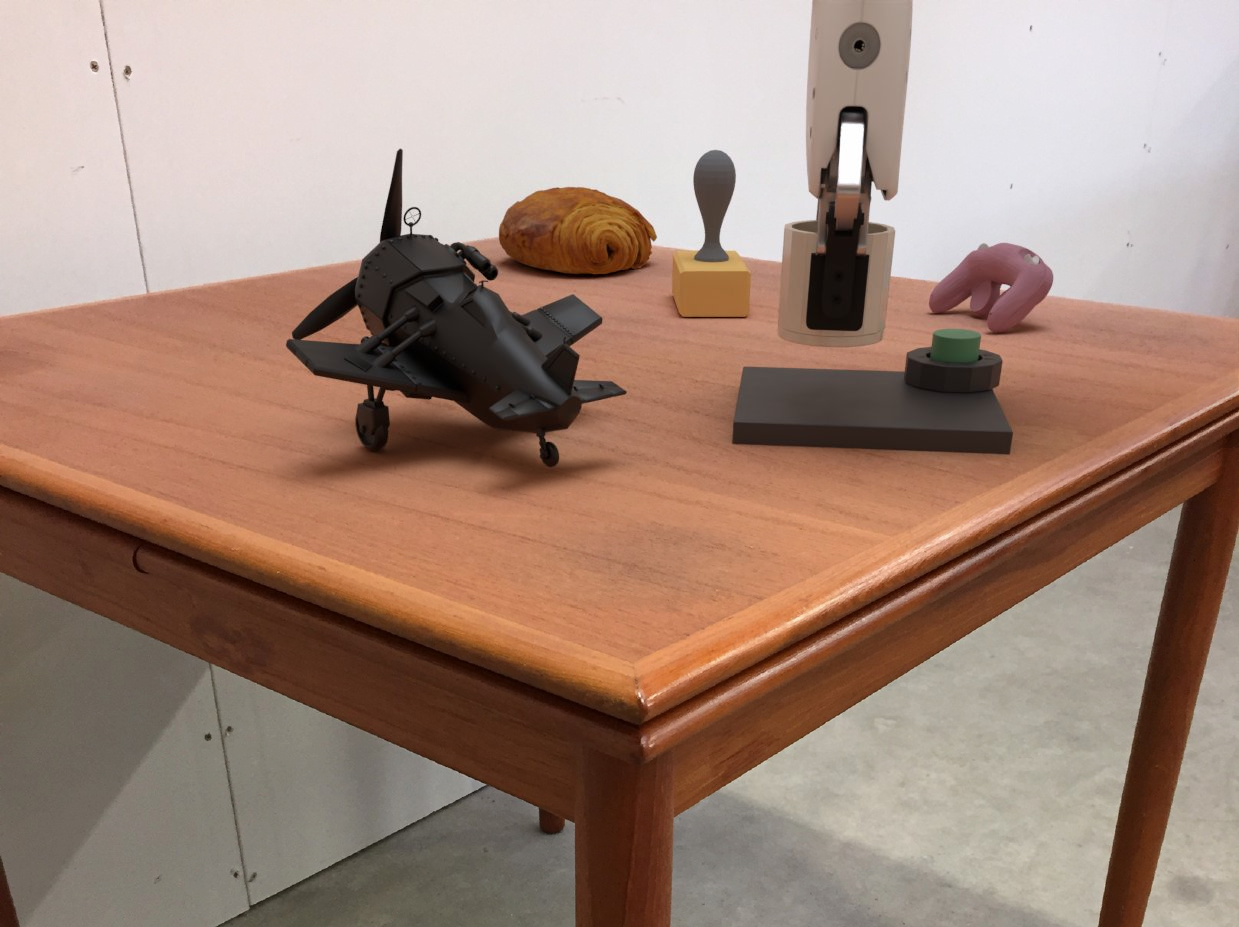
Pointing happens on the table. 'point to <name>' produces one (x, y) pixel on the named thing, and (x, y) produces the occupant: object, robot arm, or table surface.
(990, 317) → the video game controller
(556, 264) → the croissant
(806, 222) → the cup
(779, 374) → the scale
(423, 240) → the airplane toy
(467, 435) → the table surface
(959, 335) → the tare button
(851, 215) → the robot arm
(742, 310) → the rubber stamp
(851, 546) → the table surface
